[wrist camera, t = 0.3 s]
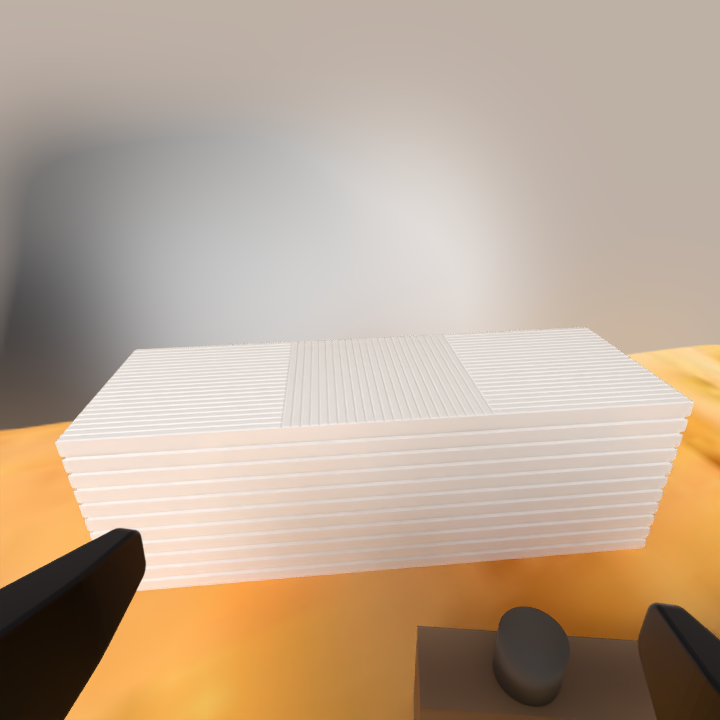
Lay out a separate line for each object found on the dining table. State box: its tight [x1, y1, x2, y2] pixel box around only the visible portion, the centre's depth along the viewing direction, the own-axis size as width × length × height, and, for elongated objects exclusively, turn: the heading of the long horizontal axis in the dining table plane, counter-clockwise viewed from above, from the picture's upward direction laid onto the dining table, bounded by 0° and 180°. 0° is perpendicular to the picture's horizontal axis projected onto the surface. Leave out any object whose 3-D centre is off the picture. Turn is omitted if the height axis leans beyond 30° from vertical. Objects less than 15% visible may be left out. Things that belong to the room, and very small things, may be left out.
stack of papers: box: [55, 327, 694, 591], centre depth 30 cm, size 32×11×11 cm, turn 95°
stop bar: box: [414, 607, 657, 720], centre depth 17 cm, size 3×20×7 cm, turn 85°
